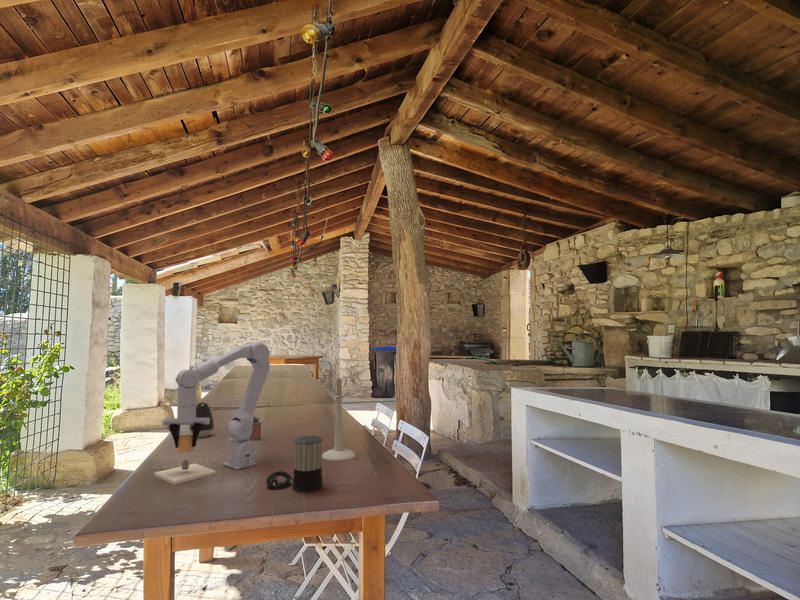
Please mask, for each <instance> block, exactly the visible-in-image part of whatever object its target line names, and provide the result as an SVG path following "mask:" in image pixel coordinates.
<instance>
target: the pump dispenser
mask: <svg viewBox="0 0 800 600" xmlns="http://www.w3.org/2000/svg"><path fill="white" fill-rule="evenodd" d="M196 417H201V418H210V423H209V424H203V426H202V428H201V430H200V433H199V435H198V438H197V439H201V438H202V439H203V438H206V437H209V436H210V435H211V434H212V433H213V430H214V428H215V423H214V422H215V421H214V417H213V413H212V410H211V408H210V406H209V404H208V403H207V402H198V403H197V404H196ZM190 423H192V422H190ZM195 423H196V422H195ZM193 425H194V424H193ZM193 425H189V430H190V434H191V435H193V430H192V426H193Z"/></svg>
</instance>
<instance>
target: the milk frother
mask: <svg viewBox="0 0 800 600" xmlns="http://www.w3.org/2000/svg"><path fill="white" fill-rule="evenodd" d="M323 440H324V438H323V437H322V436H318V435H300V436H297V437H294V438H293V439H292V442H293V477H292V476H291V474H289V473H288V472H286V471H282V470H279V471H275V472H273V473H271V474H269V476H268V477H266V483H265V484H266V486H267V487H269V488H271V489H282V488H283V489H284V488H285V487H287V486H288V485H290V483H291V480H292V486H291V487H292V490H294V491H295V490H296V491H295V492H300V493H311V492H315V490H316V491H318V489H319V490H320V489H322V488H323V474H322V472H323V459H322V454H323ZM277 477H284V478H285V479H286V480H285V482H283V483H279V484H278V482H279V480H278V478H277ZM310 491H311V492H310Z"/></svg>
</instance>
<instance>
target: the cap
mask: <svg viewBox="0 0 800 600" xmlns="http://www.w3.org/2000/svg"><path fill="white" fill-rule="evenodd" d="M192 441H193V435H192V434H191V433H190V434H181V435H180V434H179V439H178V448H177V453H180V454H183V453H185V454H186V453H192V452H193V451H194V449H195V447H192Z"/></svg>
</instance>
